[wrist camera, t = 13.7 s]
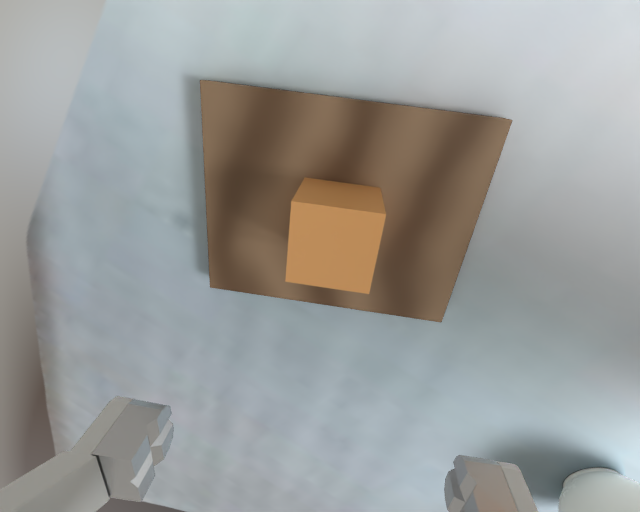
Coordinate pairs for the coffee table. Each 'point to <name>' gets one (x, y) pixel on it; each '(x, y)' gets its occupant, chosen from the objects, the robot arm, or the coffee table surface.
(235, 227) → the post block
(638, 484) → the lidded jar
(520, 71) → the coffee table surface
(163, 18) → the coffee table surface
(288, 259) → the wooden toy cube
